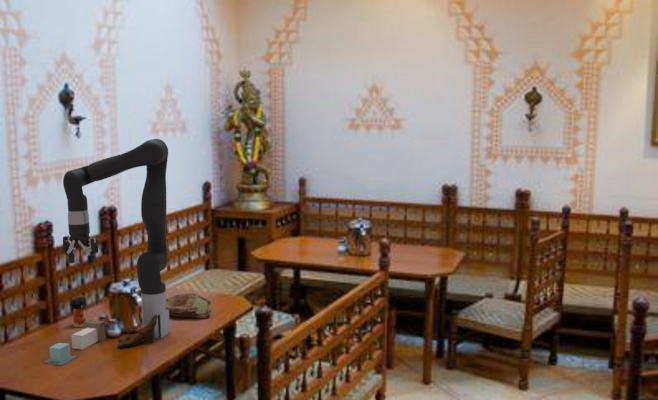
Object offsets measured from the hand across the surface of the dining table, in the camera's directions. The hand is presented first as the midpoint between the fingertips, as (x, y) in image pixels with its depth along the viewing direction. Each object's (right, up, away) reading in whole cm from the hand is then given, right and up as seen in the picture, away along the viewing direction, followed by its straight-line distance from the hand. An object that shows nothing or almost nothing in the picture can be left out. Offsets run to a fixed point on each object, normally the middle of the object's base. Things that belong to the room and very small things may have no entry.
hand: (81, 263), depth 273 cm
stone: (+34, -24, +29) cm, 51 cm away
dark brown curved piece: (+23, -30, -6) cm, 38 cm away
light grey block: (+4, -29, -5) cm, 30 cm away
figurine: (-6, -26, +15) cm, 31 cm away
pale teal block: (0, -32, -22) cm, 38 cm away
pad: (0, -32, -22) cm, 39 cm away
